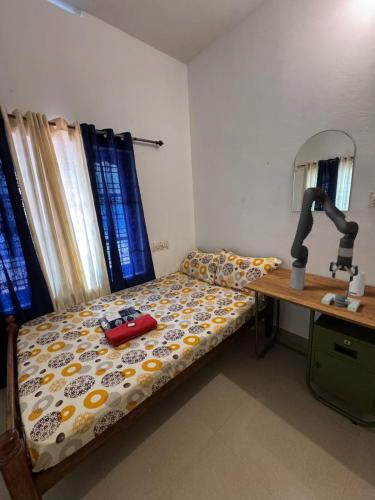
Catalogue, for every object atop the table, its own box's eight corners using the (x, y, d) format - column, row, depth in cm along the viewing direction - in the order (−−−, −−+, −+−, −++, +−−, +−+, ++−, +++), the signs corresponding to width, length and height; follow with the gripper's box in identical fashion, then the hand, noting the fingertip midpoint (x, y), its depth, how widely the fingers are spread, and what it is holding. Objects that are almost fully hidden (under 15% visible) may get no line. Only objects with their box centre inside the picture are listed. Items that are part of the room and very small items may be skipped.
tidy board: (321, 303, 142) (322, 291, 140) (327, 296, 151) (328, 284, 149) (355, 312, 129) (357, 299, 127) (360, 303, 138) (361, 291, 136)
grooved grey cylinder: (333, 305, 138) (334, 296, 137) (335, 302, 142) (336, 293, 140) (343, 308, 134) (344, 299, 133) (345, 304, 138) (346, 296, 136)
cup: (360, 297, 147) (363, 275, 143) (346, 293, 153) (349, 272, 150) (365, 294, 151) (368, 272, 148) (351, 290, 158) (353, 269, 154)
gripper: (329, 254, 133) (327, 278, 137) (358, 257, 123) (354, 284, 127) (333, 251, 138) (330, 275, 142) (361, 255, 128) (357, 280, 132)
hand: (342, 279), depth 134 cm, fingers open, 8 cm apart
